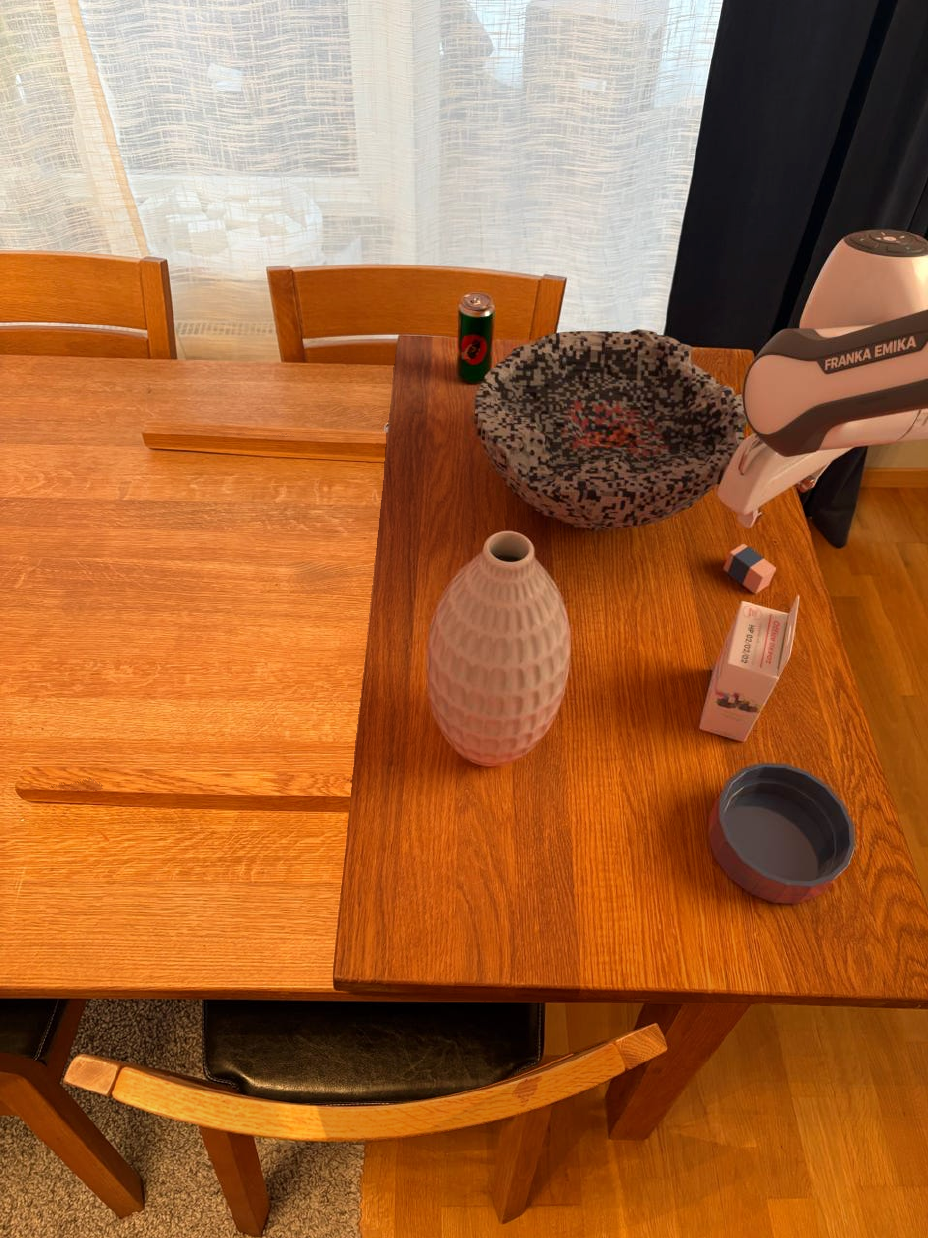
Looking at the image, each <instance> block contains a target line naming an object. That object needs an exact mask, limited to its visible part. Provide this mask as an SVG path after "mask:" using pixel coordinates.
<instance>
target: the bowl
mask: <svg viewBox="0 0 928 1238" xmlns="http://www.w3.org/2000/svg"><path fill="white" fill-rule="evenodd" d="M692 352H693V347H692V346H691V345H689V344H684V343H680V341H679V340H677V339H676V338H673V337H670V336H668V335H666V334H665V335H664V334H658V332H657V331H652V330H647V329H640V328H637V329H634V330H631V331H628V332H627V331H626V332H625V331H611V330H610V331H609V330H607V331H606V330H604V331H603V330H602V331H601V330H574V331H572V330H571V331H561V332H554V333H551V334H547V335H544V336H541V337H539V338H537V339H536V340H535V343H525V344H523V345H521V346H519V347H515V348H513V349H512V351H511V353H510V354H509V355H507V356H506V357H504V358H503V359H502V360H501V361H499V362H498V363H497V364H496V365H495V366H494V367H492V368H491V371H489V372H488V374H487V375H486V376H485V378H484V381H483V382H482V383H480V385H479V386H478V389H477V390H476V393H475V397H474V408H473V409H474V410H473V424H475V425H476V426H477V428H476V429H477V431H476V435H477V437H478V438H480V445H481V446H483V448H484V451H483V453H484V454H485V455H486V457H487V459H488V461H489V462H490V463H491V465H492V467H493V469H494V470H495V471H496V473H497V475H498V476H499V477H501V478H502V479H503V480H504V482H505V484H506V487H508V488H509V489H511V490H512V492H513V493H514V495H515V496H517V497H518V498H519V499H520V500H522V501H523V502H524V503H527V504H529V505H530V506H531V507H532V508H533V510H534V511H536V512H539V513H541V514H542V515H543V516H546V517H549V518H550V517H551V518H554V519H557V520H559V521H561V522H562V523H566V524H570V525H573V527H574V528H579V529H580V528H582V529H584V528H585V529H590V531H605V530H606V531H611V530H613V531H615V530H621V529H633V528H637V527H641V526H647V525H650V524H656V523H659V522H662V521H664V520H667V519H668V518H671V517H673V516H675V515H677V514H679V513H680V512H682V511H685V510H686V509H689V508H692V507H693V505H694V504H695V503H696V502H698V501H700V500H702V499H703V497H705V496H706V495H707V494H708V493H709V492H710V491H712V490H715V487H716V485H718V486H719V485H720V483H721V480H722V478H723V476H724V474H725V471H726V469H727V467H728V465H729V463H730V461H731V459H732V457H733V455H734V453H735V451H736V450H737V448H738V447H739V445H740V444H741V443H742V442H743V441H744V440H745V435H744V432H745V429H746V426H747V424H748V422H747V419H746V417H745V413H744V408H743V394H742V392H739V393H737V394H736V393H735V391H734V389H733V387H732V386H729V385H727V384H726V383H724V384H723V385H720V383H719V381H718V380H717V379H716V378H715V377H713V376H712V375H711V374H709V373H708V372H707V371H705V370H704V369H703V368H701V367H699V366H698V365H696V364H695V363H694V362H693V361H692V360H691V359H692Z"/></svg>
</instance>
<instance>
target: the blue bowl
mask: <svg viewBox="0 0 928 1238" xmlns="http://www.w3.org/2000/svg"><path fill="white" fill-rule="evenodd" d="M707 829H708V830H707V838H708V841H709V845H710V848H711V850H712V854H713V856H714V859H715V861H716V862H717V863H718V865H719V866H720V867H721V868H722V870H723V871H724V873H725V874H726V876H727V877H728V878H729V879H730V880H731V881H733V882H734V883H735V884H736V885H738V886H739V887H741V889H743V890H745V892H747V893H748V894H750V895H752V896H755V897H758V898H760V899H763V900H766V901H768V902H770V903H773V904H791V905H792V904H794V905H799V904H802V903H804V902H807V901H810V900H813V899H816V898H819V897H820V896H821V895H822V894H823V893H824V892H825V891H826V890H827V889H828V888H829V887H830V886H831V885H832V884H833V883H834V882H835V881H836V880H837V879H838V878H839V877H840V876H841V875H842V874H843V873H844V871H846V870H847V868H848V867H849V866H850V863H851V860H852V857H853V855H854V852H855V849H856V836H855V826H854V822H853V820H852V818H851V816H850V813H849V811H848V809H847V807H846V804H845V803H844V801H843V800H841V798H840V797H839V796H838V795H837V794H836V793H835V792H834V790H833V789H832V788H831V787H830V785H828V784H827V783H826V782H824V781H822V780H821V779H820V778H818V777H817V776H815V775H814V774H812V773H811V772H809V771H808V770H805V769H802V768H799V767H797V766H793V765H791V764H788V763H783V762H782V763H780V762H777V763H776V762H760V763H755V764H753V765H749V766H745V767H742V768H740V770H739V771H737V772H736V773H735V774H734V775H732V776H731V777H730V778H729V779H727V781H726V782H725V784H724V786H723V789H721V792H720V793H719V796H718V797H717V799H716V801H715V803H714V804H713V807H712V809H711V811H710V813H709V815H708V823H707Z"/></svg>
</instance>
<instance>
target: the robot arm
mask: <svg viewBox="0 0 928 1238" xmlns="http://www.w3.org/2000/svg"><path fill="white" fill-rule="evenodd" d="M742 399H743V408H744V413H745V417H746V419H747V424H748V426H749V428H750V429H751V430H752V432H754V433H751V434H750V435H749V436H747V437H746V438H744V441H743V442H742V443H741V444H740V445H739V447H738V448H737V450H736V451H735V453H734V455H733V457H732V459H731V461H730V463H729V465H728V467H727V469H726V471H725V474H724V476H723V478H722V480H721V483H720V485H719V484H718V488H717V491H716V496H717V498H718V499H719V501H720V502H721V503H722V504H723V505H724V506H726V507H727V508H728V509H730V510H731V511H733V512H734V513H736V514H737V517H736V521H737V523H738V524H740V525H741V526H742V527H745V529H750V528H752V527H754V526H755V525H756V524H758V523H759V521H760V519H761V517H762V515H763V511H761V510H760V509H759V508H760V507H762V506H763V505H765V504H766V503H768V502H770V501H771V500H772V499H774V498H776V497H777V496H779V495H780V494H783V492H785V491H787V490H788V489H790V488H792V487H794V489H798V490H799V491H800V492H801V493H806V492H808V491H810V490H811V489H813V488H814V487H815V485H816V483H817V482H818V480H819V477H820V476H822V474H823V473H824V471H826V469H827V468H828V467H829V465H831V463H832V462H833V461H834V460H836V459H838V458H839V457H841V456H842V455H844V454H845V453H847V452H849V451H850V450H852V449H854V448H858V447H867V446H878V445H886V444H896V443H902V442H903V443H904V442H912V441H921V440H928V240H927V239H926V238H924V237H922V236H920V235H918V234H914V233H911V232H908V231H904V230H895V229H894V230H893V229H869V230H860V231H856V232H855V231H854V232H853V233H850V234H848V235H845V236H844V237H843V238H841V240H839V242H838V243H837V244H836V245H835V247H834V248H833V249H832V251H830V254H829V256H828V257H827V259H826V261H825V263H824V264H823V266H822V267H821V269H820V272H819V273H818V276H817V278H816V280H815V282H814V285H813V286H812V289H811V291H810V294H809V296H808V298H807V301H806V303H805V306H804V308H803V312H802V314H801V317H800V319H799V328H784V329H781V330H779V331H778V332H777V333H776V334H774V335H773V336H772V337H771V338H770V339H769V341H768V342H766V344H765V345H763V347H762V348H761V350H760V351H759V352H758V353H757V355H756V356H754V359H753V360H752V362H751V363H750V365H749V367H748V369H747V372H746V374H745V377H744V381H743V386H742Z"/></svg>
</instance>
